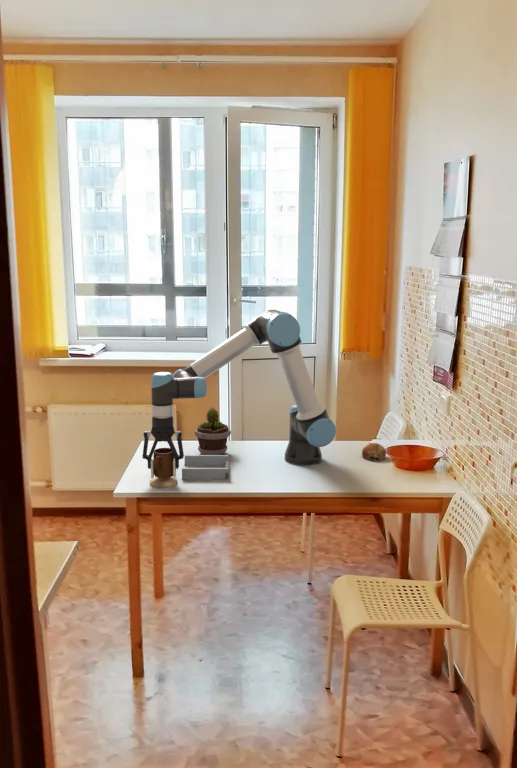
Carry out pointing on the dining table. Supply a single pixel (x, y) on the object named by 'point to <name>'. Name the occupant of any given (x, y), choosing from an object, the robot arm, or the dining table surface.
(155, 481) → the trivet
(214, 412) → the flowerpot
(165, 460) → the mug
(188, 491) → the dining table surface
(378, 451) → the bread roll
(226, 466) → the u-shaped frame
